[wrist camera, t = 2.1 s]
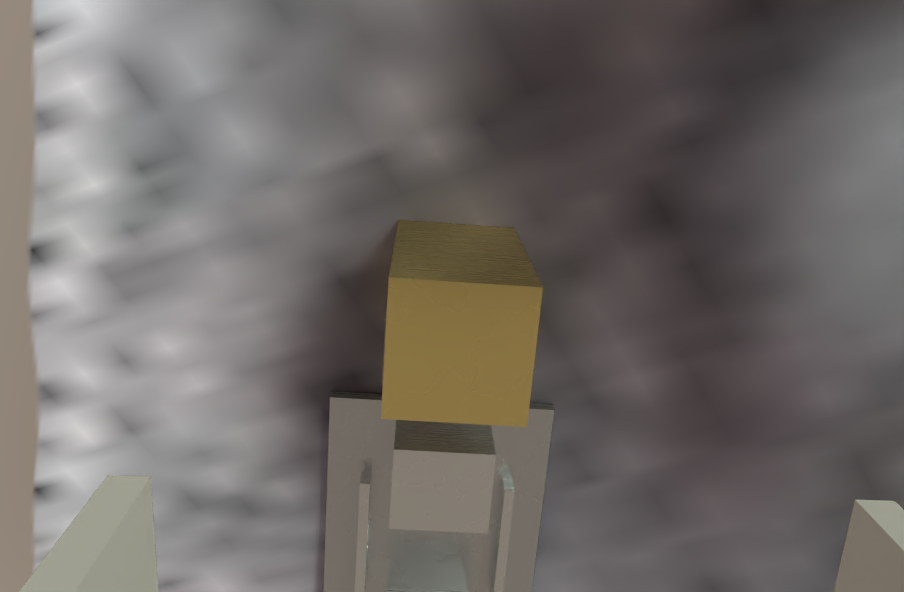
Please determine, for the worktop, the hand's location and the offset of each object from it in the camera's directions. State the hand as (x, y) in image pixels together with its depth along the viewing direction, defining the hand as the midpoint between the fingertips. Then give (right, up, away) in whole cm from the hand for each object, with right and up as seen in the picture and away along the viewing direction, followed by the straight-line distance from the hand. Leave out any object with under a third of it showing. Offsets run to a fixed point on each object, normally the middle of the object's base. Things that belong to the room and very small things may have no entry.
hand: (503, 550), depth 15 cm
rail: (-2, -10, +20) cm, 23 cm away
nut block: (-1, +5, +16) cm, 17 cm away
